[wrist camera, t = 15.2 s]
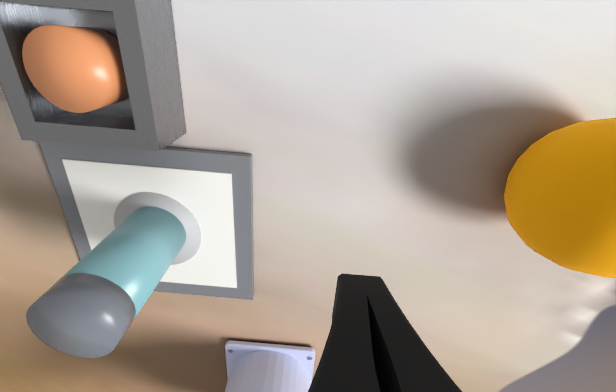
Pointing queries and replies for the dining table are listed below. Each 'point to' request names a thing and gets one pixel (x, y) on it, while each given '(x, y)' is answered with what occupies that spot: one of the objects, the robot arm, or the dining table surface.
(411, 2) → the dining table surface
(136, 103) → the button housing
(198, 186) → the board
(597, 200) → the apple
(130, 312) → the marker
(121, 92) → the button
